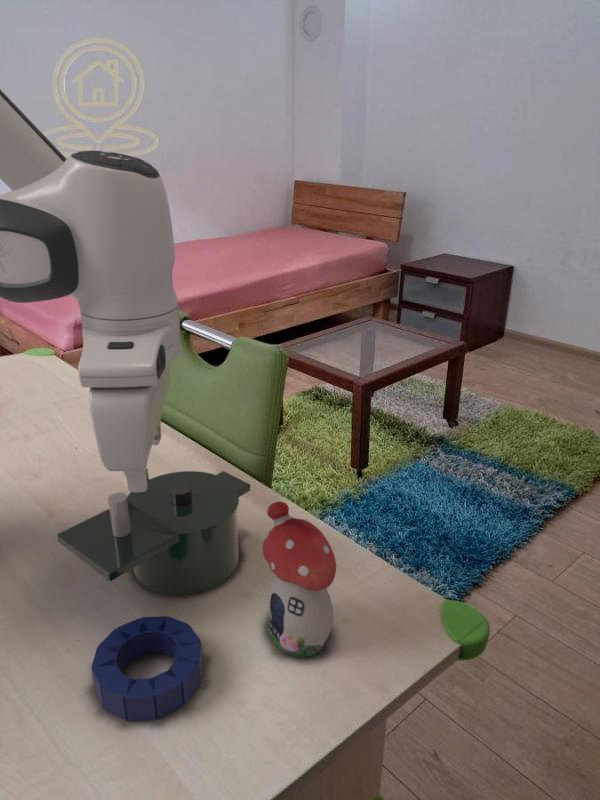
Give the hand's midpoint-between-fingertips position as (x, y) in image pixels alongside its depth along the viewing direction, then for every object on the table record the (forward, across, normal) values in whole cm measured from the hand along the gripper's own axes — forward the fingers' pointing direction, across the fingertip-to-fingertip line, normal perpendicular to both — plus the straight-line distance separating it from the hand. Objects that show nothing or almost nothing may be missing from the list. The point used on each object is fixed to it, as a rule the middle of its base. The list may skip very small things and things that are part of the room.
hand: (146, 463), depth 65 cm
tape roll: (+18, +11, 0) cm, 21 cm away
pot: (+18, -6, +1) cm, 19 cm away
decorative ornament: (+18, +6, +15) cm, 25 cm away
